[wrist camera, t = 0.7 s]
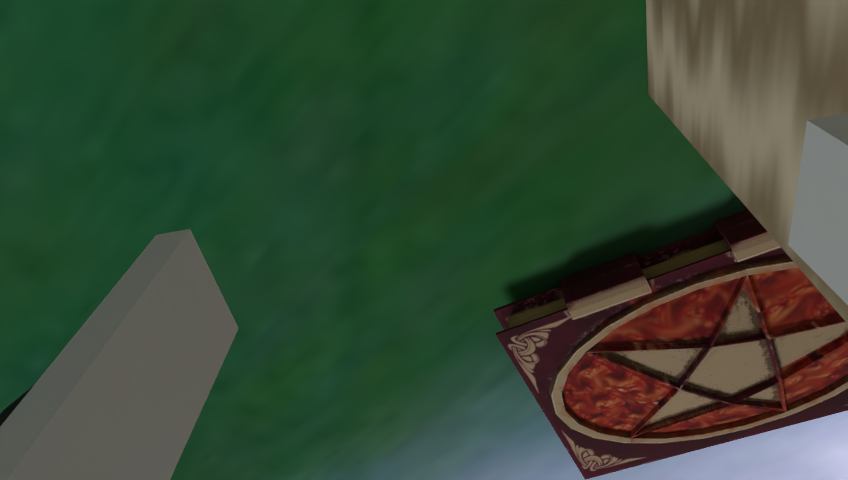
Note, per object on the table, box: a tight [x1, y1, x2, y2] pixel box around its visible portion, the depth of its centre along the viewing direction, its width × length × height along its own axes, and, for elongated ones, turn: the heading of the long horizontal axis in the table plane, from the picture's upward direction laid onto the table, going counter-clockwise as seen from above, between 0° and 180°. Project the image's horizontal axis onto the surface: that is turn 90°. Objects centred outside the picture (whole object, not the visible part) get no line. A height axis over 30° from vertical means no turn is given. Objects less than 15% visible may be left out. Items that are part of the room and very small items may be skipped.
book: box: [494, 210, 848, 479], centre depth 43 cm, size 28×21×5 cm
